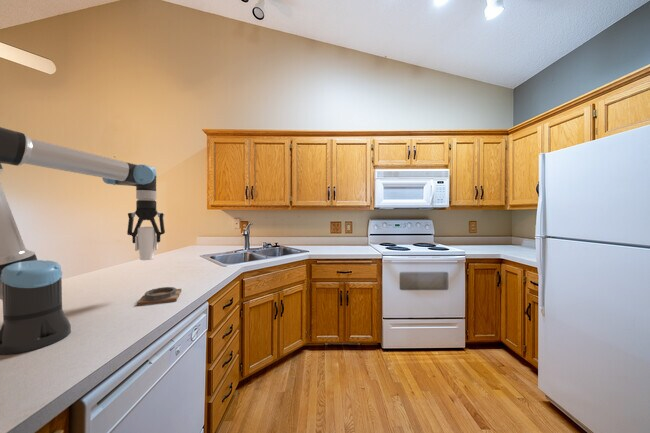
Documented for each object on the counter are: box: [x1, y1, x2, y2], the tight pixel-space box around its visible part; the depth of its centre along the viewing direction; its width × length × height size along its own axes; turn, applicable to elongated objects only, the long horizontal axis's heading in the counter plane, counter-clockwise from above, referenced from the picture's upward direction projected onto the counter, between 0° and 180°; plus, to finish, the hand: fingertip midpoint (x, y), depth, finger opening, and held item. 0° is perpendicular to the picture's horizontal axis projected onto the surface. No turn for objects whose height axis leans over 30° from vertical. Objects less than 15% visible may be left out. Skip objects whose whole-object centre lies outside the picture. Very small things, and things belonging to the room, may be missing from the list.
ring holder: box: [136, 286, 182, 307], centre depth 112 cm, size 14×14×3 cm
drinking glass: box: [137, 226, 156, 261], centre depth 117 cm, size 7×7×15 cm
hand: (146, 249), depth 117 cm, fingers closed on drinking glass, 7 cm apart
